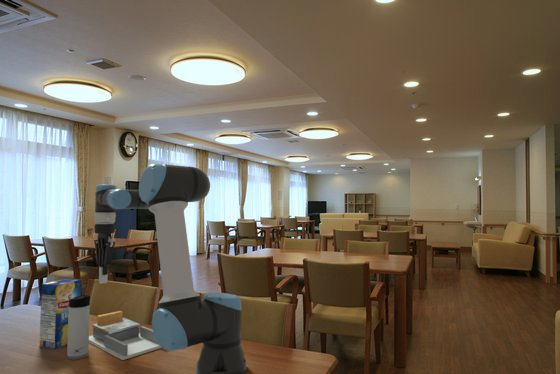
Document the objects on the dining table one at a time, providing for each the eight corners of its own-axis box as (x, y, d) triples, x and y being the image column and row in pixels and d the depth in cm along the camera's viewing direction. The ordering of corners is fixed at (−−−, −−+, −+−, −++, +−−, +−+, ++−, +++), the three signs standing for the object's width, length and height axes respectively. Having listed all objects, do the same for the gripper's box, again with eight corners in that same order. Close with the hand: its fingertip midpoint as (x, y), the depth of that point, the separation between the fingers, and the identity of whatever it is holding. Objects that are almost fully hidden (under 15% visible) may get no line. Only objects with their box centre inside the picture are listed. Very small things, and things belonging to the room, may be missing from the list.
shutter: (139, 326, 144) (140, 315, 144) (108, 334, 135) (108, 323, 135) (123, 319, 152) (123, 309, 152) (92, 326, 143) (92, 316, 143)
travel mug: (80, 361, 123) (82, 298, 124) (62, 359, 125) (64, 297, 126) (93, 353, 130) (95, 293, 130) (76, 352, 131) (78, 292, 132)
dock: (165, 346, 137) (165, 333, 137) (122, 360, 124) (122, 346, 124) (125, 329, 154) (125, 318, 155) (84, 340, 142) (84, 327, 142)
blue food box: (39, 346, 135) (41, 283, 136) (64, 336, 146) (66, 278, 147) (54, 349, 133) (56, 285, 134) (79, 338, 144) (81, 279, 145)
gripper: (122, 223, 151) (120, 283, 150) (106, 222, 160) (104, 279, 159) (103, 224, 146) (101, 286, 145) (88, 222, 154) (86, 281, 153)
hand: (103, 282), depth 152 cm, fingers closed
